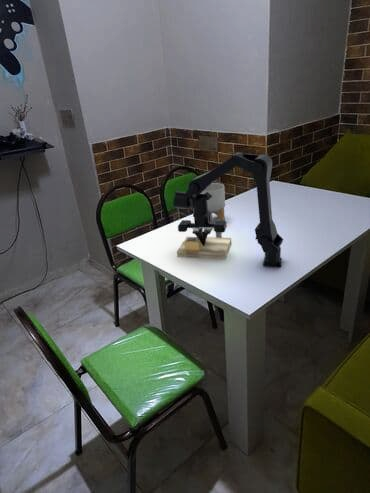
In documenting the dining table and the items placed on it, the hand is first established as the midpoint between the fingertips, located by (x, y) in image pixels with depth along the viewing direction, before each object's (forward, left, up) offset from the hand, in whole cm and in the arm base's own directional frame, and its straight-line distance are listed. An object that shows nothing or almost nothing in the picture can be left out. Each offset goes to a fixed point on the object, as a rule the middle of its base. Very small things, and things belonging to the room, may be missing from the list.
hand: (204, 245), depth 140 cm
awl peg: (+13, -3, -4) cm, 14 cm away
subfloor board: (+3, +1, -4) cm, 5 cm away
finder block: (0, +4, -1) cm, 5 cm away
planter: (+33, +4, -4) cm, 33 cm away
